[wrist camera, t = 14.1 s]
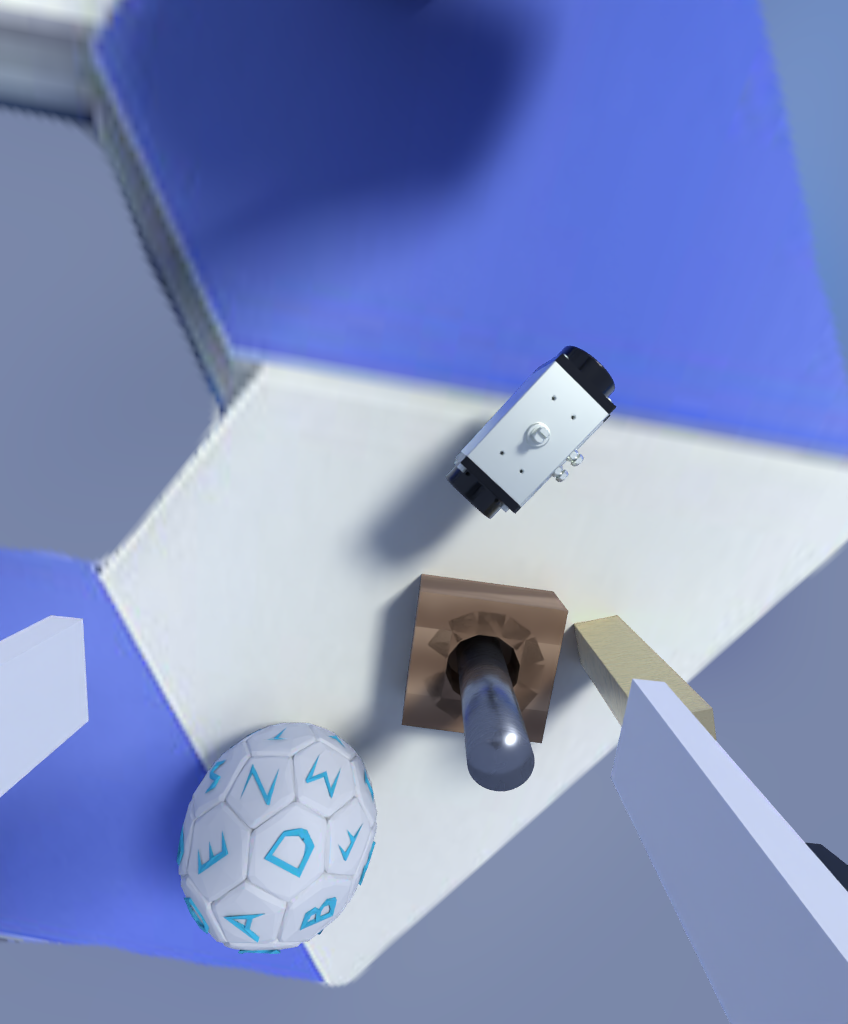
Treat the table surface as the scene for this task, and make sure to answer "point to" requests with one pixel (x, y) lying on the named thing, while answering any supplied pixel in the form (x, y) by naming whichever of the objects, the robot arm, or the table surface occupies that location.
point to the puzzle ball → (277, 838)
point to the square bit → (630, 667)
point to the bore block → (492, 612)
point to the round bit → (491, 717)
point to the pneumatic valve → (535, 433)
